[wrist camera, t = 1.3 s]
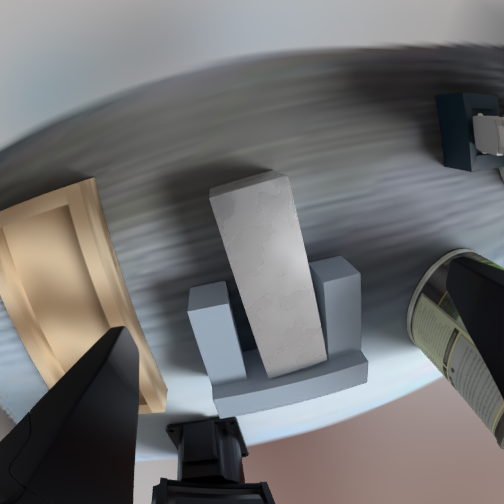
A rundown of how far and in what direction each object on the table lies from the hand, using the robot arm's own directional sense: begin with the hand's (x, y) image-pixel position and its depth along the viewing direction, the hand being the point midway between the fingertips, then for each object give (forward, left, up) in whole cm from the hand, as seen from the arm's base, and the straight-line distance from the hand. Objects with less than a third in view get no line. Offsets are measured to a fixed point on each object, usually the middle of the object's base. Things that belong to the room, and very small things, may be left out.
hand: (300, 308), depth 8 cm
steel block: (-4, -1, -13) cm, 13 cm away
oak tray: (-4, +13, -12) cm, 19 cm away
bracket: (-7, -1, -12) cm, 14 cm away
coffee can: (-11, -17, -13) cm, 24 cm away
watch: (+4, -18, -13) cm, 22 cm away
